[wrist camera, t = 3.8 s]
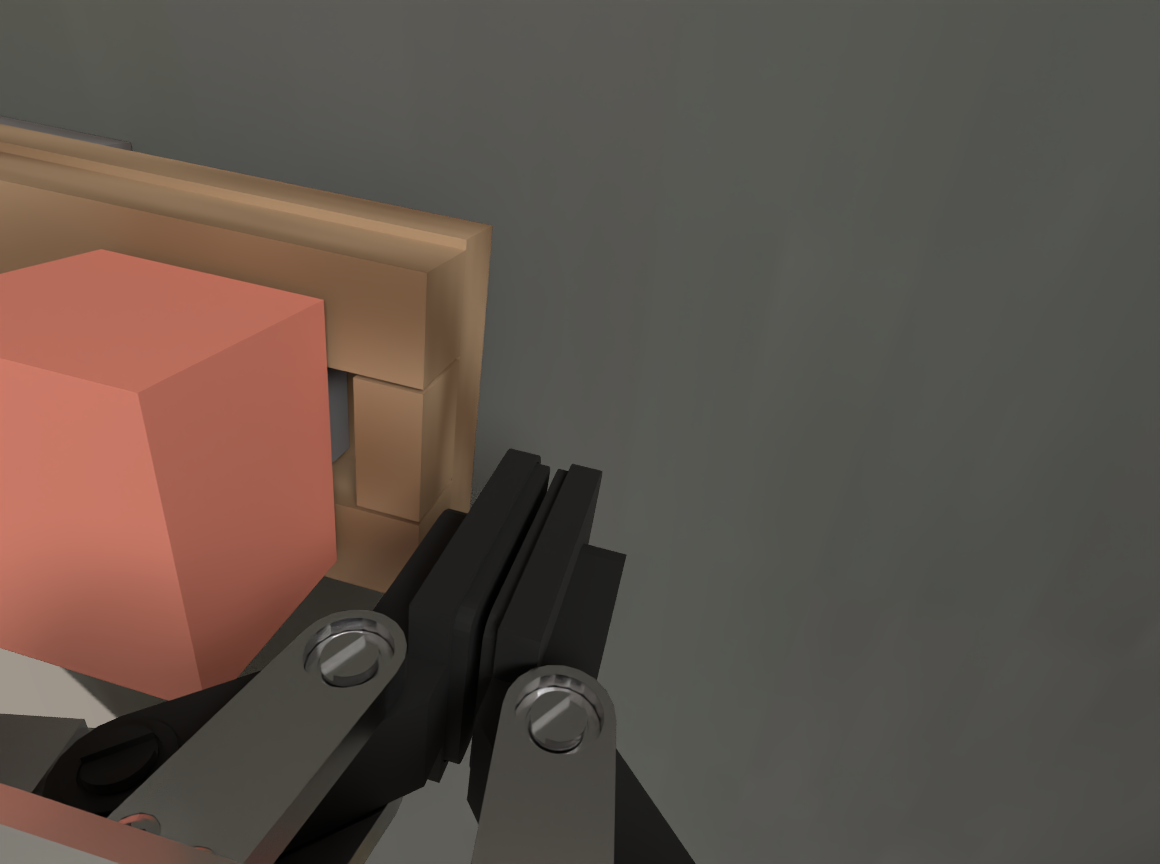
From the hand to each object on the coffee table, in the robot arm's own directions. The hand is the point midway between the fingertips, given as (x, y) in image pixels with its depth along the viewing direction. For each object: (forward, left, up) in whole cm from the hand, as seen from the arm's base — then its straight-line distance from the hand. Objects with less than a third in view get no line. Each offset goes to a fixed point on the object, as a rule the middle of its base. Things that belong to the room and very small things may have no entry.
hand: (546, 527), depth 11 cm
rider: (0, -7, -3) cm, 7 cm away
